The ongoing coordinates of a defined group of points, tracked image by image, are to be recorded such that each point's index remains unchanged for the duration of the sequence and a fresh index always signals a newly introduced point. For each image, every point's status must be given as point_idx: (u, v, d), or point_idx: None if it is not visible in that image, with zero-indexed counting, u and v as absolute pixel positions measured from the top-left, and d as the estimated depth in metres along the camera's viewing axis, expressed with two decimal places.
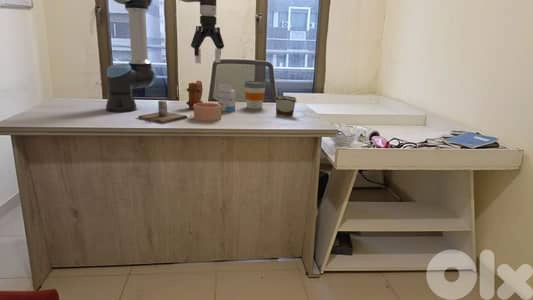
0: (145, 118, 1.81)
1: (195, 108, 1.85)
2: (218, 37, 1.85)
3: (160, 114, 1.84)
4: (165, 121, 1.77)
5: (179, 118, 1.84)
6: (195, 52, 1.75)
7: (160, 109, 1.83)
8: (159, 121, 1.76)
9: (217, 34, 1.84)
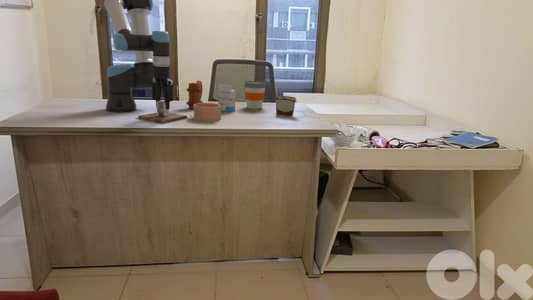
0: (145, 118, 1.81)
1: (195, 108, 1.85)
2: None
3: (160, 114, 1.84)
4: (165, 121, 1.77)
5: (179, 118, 1.84)
6: None
7: (160, 109, 1.83)
8: (159, 121, 1.76)
9: None
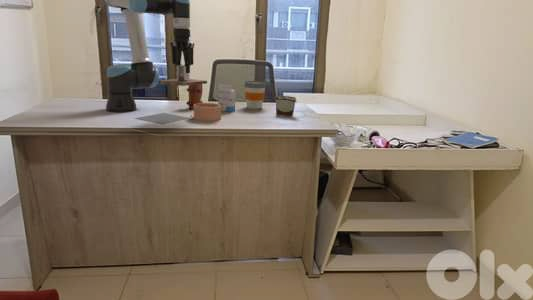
0: (165, 82, 1.78)
1: (195, 108, 1.85)
2: None
3: (180, 78, 1.80)
4: (185, 84, 1.73)
5: (199, 82, 1.81)
6: None
7: (180, 73, 1.80)
8: (179, 84, 1.73)
9: None
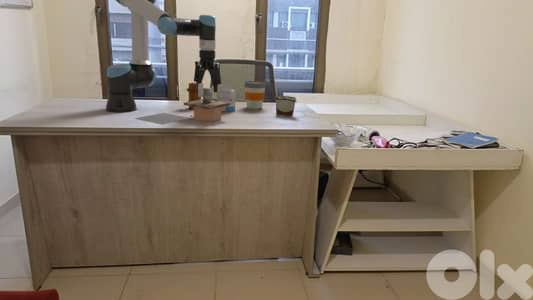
0: (190, 105, 1.84)
1: (195, 108, 1.85)
2: None
3: (205, 101, 1.87)
4: (211, 107, 1.80)
5: (223, 105, 1.87)
6: None
7: (205, 96, 1.86)
8: (205, 107, 1.79)
9: None
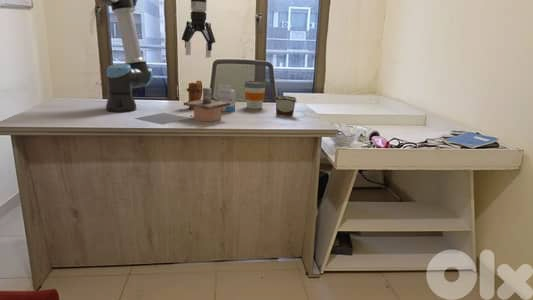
0: (190, 105, 1.84)
1: (195, 108, 1.85)
2: None
3: (205, 101, 1.87)
4: (211, 107, 1.80)
5: (223, 105, 1.87)
6: None
7: (205, 96, 1.86)
8: (205, 107, 1.79)
9: None
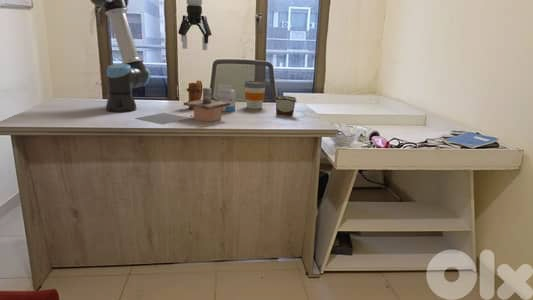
0: (190, 105, 1.84)
1: (195, 108, 1.85)
2: None
3: (205, 101, 1.87)
4: (211, 107, 1.80)
5: (223, 105, 1.87)
6: None
7: (205, 96, 1.86)
8: (205, 107, 1.79)
9: None
